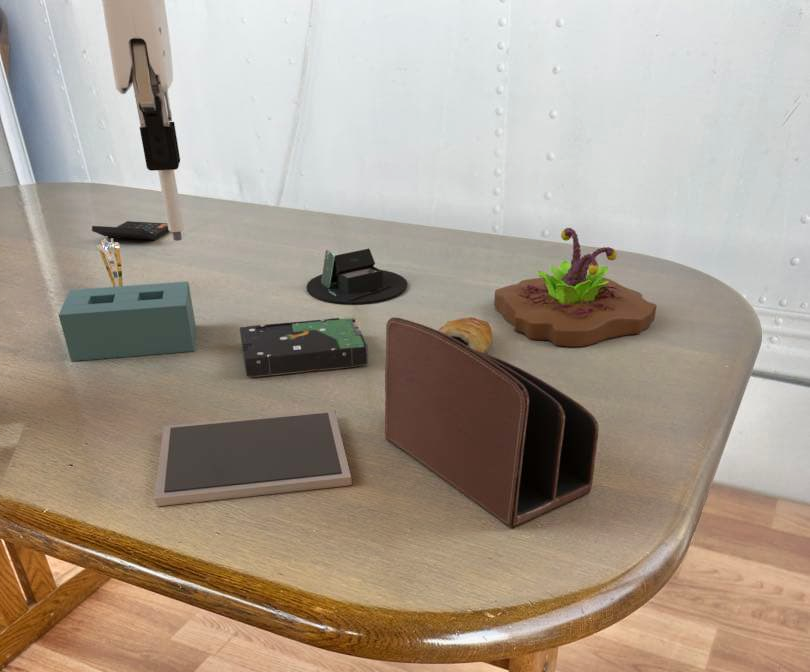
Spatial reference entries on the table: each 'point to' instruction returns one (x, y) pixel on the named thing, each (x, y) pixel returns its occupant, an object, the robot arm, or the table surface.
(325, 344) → the disk drive
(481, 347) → the pastry
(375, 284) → the round circuit board stand
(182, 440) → the tablet
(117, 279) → the ring
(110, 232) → the calculator
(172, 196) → the stylus
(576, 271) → the plant
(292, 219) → the table surface
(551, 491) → the letter holder
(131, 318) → the dock
